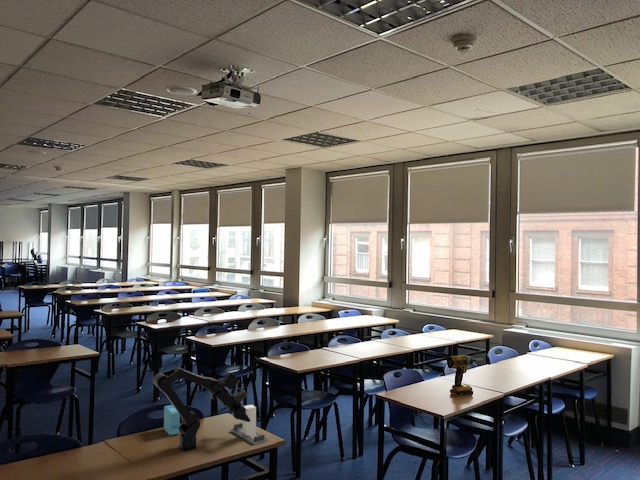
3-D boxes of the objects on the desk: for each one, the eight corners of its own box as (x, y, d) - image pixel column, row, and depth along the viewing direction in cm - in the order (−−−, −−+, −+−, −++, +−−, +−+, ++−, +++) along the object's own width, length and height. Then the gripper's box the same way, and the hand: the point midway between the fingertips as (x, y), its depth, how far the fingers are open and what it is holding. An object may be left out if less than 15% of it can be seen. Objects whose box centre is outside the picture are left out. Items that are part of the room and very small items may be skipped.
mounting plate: (253, 445, 232) (253, 438, 232) (230, 431, 249) (230, 425, 249) (267, 441, 237) (267, 434, 237) (244, 428, 254) (244, 422, 254)
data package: (179, 434, 244) (179, 410, 245) (170, 436, 242) (170, 411, 242) (172, 427, 255) (172, 403, 255) (163, 429, 252) (164, 405, 252)
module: (245, 435, 239) (246, 408, 239) (242, 432, 243) (242, 406, 244) (255, 434, 242) (256, 407, 242) (252, 430, 246) (252, 404, 246)
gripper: (241, 389, 233) (264, 411, 236) (234, 380, 250) (255, 400, 254) (224, 408, 230) (247, 429, 233) (218, 397, 247) (239, 417, 251)
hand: (247, 418), depth 243 cm, fingers open, 9 cm apart
